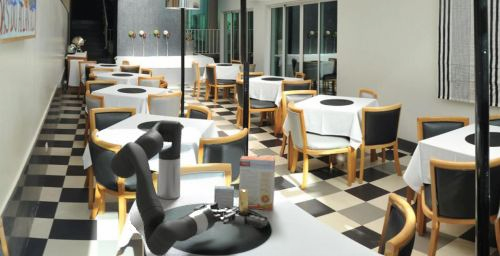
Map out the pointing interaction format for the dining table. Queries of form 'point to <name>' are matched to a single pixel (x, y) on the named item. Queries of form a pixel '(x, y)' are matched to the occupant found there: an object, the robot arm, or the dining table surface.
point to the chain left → (227, 210)
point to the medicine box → (224, 196)
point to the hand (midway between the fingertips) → (226, 207)
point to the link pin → (243, 202)
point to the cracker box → (258, 181)
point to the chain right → (256, 220)
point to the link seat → (241, 218)
